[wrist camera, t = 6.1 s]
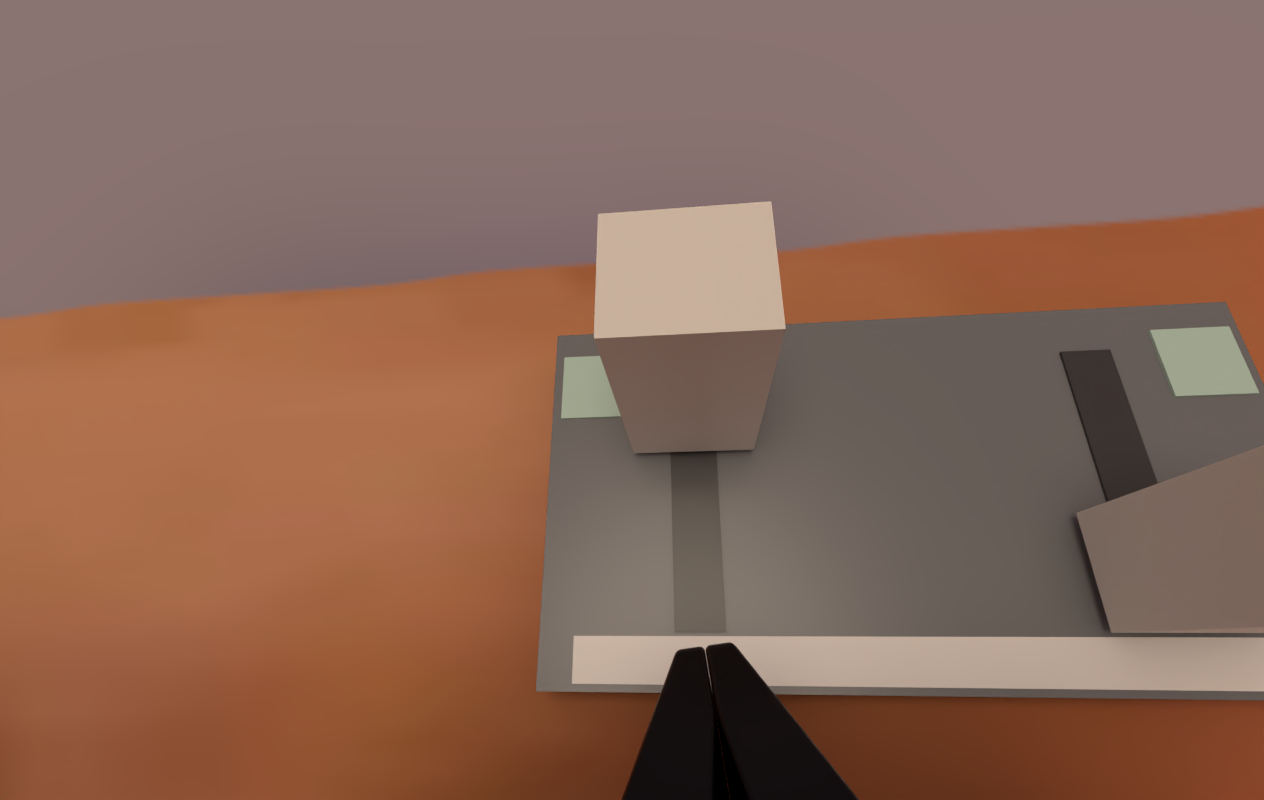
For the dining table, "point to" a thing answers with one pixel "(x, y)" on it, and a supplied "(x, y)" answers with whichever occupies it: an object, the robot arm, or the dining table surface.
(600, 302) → the switch tab
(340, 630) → the dining table surface
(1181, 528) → the block
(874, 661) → the switch block
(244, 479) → the dining table surface
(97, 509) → the dining table surface
